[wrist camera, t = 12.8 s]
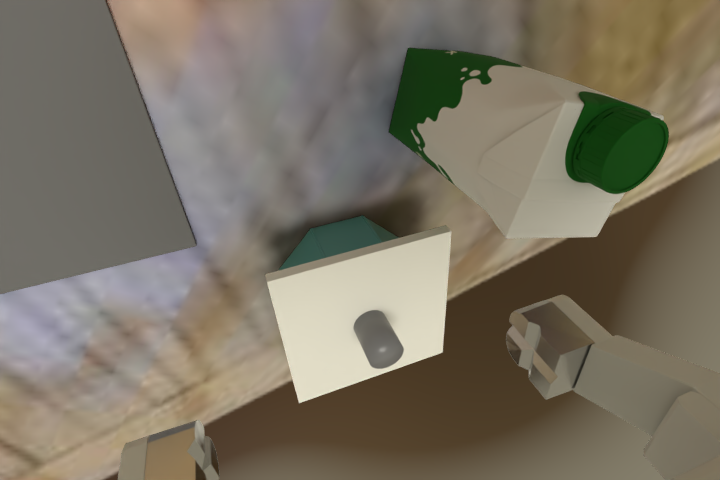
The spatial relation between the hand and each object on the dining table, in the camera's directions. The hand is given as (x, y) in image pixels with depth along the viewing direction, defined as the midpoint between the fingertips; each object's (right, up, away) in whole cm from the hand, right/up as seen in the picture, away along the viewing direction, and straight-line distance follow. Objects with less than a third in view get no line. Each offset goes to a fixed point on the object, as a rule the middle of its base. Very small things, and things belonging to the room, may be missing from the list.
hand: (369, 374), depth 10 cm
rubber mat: (-25, +9, +18) cm, 32 cm away
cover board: (0, -4, +29) cm, 29 cm away
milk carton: (+6, +16, +27) cm, 32 cm away
